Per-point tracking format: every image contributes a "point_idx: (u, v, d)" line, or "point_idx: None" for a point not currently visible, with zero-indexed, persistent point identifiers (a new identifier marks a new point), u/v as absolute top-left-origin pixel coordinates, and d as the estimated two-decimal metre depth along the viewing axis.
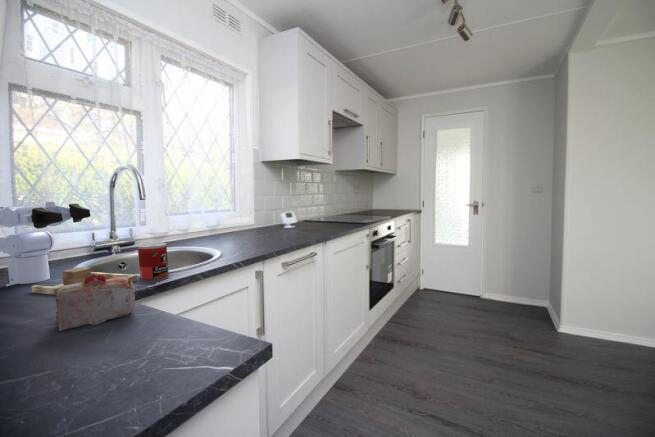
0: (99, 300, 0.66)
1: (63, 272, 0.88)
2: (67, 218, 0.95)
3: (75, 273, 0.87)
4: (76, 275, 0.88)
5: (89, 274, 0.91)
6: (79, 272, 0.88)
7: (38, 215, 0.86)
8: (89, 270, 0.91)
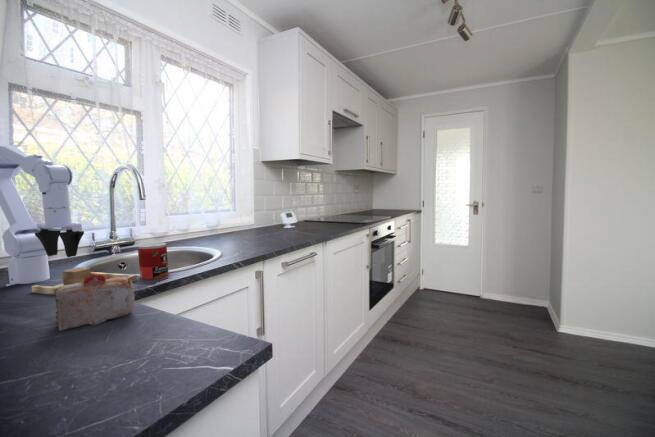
0: (99, 299, 0.66)
1: (63, 272, 0.88)
2: None
3: (75, 273, 0.87)
4: (76, 275, 0.88)
5: (89, 274, 0.91)
6: (79, 272, 0.88)
7: None
8: (89, 270, 0.91)
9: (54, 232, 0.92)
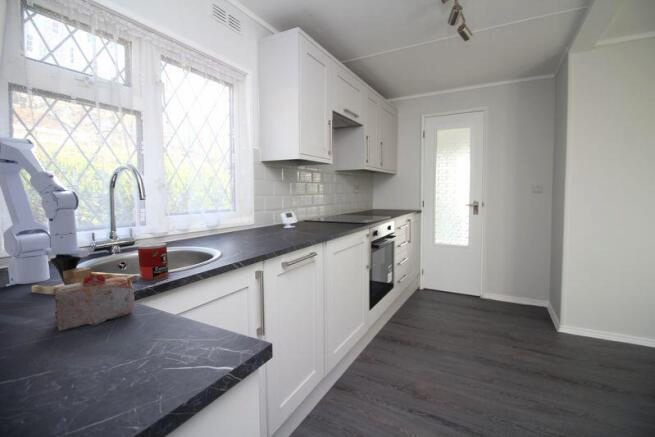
0: (98, 299, 0.66)
1: (64, 272, 0.88)
2: None
3: (76, 273, 0.87)
4: (77, 276, 0.87)
5: (90, 274, 0.91)
6: (80, 272, 0.88)
7: None
8: (90, 270, 0.91)
9: None
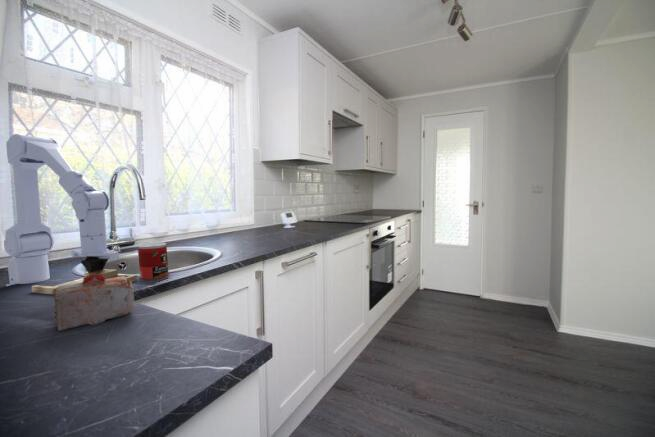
0: (98, 299, 0.66)
1: (90, 274, 0.85)
2: None
3: (103, 275, 0.85)
4: (104, 277, 0.85)
5: (116, 276, 0.88)
6: (106, 274, 0.86)
7: None
8: (116, 272, 0.88)
9: None
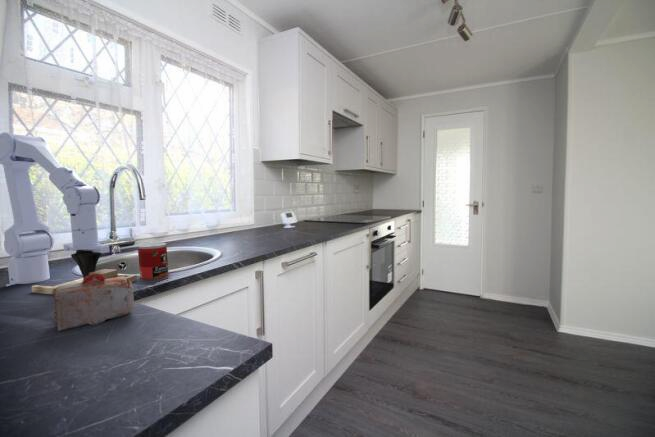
0: (98, 299, 0.66)
1: (90, 274, 0.85)
2: None
3: (103, 275, 0.85)
4: (104, 277, 0.85)
5: (116, 276, 0.88)
6: (106, 274, 0.86)
7: None
8: (116, 272, 0.88)
9: None
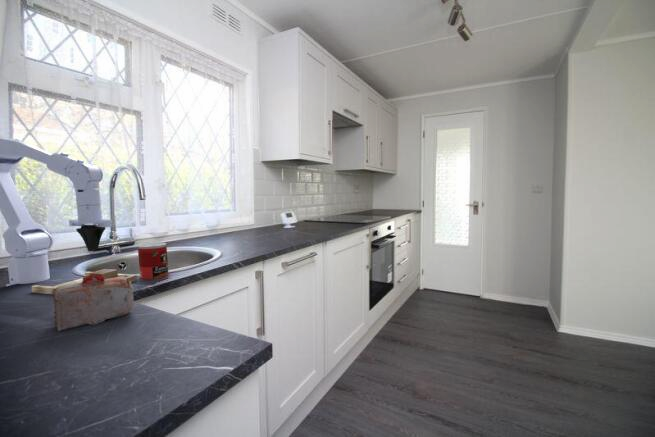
0: (98, 299, 0.66)
1: (90, 274, 0.85)
2: None
3: (103, 275, 0.85)
4: (104, 277, 0.85)
5: (116, 276, 0.88)
6: (106, 274, 0.86)
7: None
8: (116, 272, 0.88)
9: None
